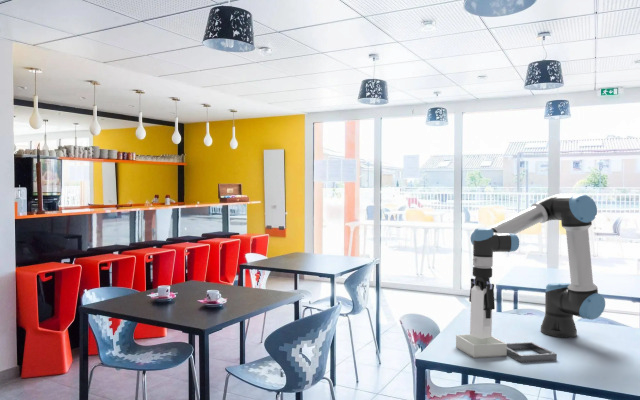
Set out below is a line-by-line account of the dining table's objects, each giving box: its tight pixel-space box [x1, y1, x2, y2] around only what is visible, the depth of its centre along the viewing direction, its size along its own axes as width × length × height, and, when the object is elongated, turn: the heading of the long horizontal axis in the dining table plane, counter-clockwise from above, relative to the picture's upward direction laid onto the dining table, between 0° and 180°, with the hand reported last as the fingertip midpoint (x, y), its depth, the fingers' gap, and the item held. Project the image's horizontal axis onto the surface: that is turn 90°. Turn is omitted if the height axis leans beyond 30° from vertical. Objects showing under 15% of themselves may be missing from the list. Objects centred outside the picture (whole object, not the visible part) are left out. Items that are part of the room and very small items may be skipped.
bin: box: [455, 333, 508, 359], centre depth 203 cm, size 14×14×5 cm
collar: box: [506, 341, 558, 363], centre depth 200 cm, size 16×16×2 cm
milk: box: [469, 285, 493, 339], centre depth 203 cm, size 6×6×22 cm
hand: (481, 323), depth 203 cm, fingers closed on milk, 8 cm apart
